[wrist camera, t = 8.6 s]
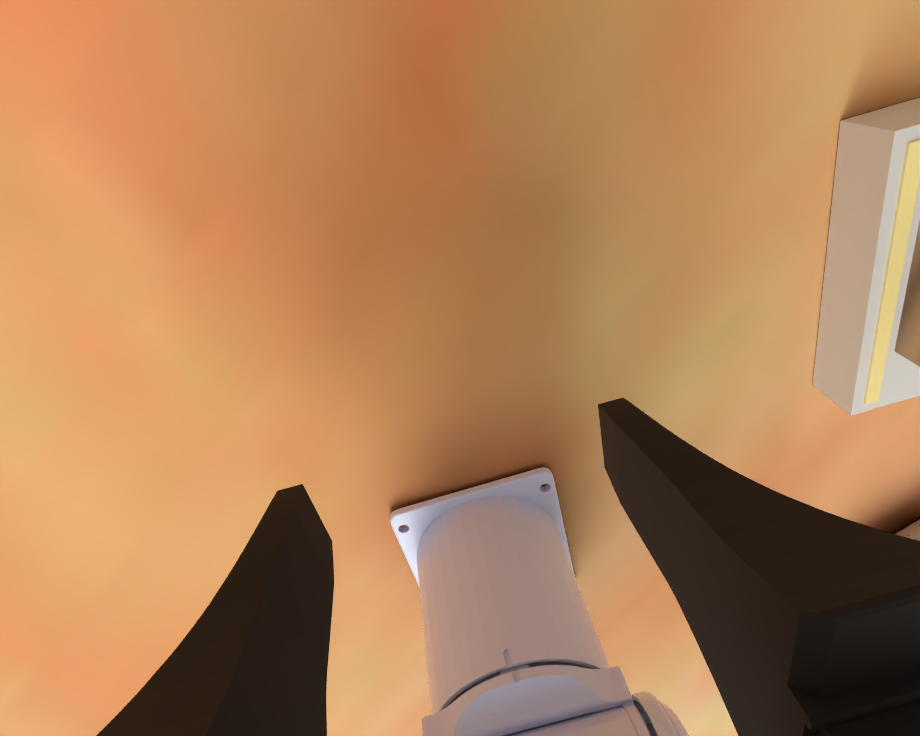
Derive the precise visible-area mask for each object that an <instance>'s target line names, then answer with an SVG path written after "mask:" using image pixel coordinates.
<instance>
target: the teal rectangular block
mask: <svg viewBox="0 0 920 736" xmlns="http://www.w3.org/2000/svg"><path fill="white" fill-rule="evenodd" d="M895 352H896V353H898V354H900V355H901V356H903V357H904V358H906V359H908V360H909V361H911V362H913V363H914V364H916V365H917V366H919V367H920V221H919V226H918V231H917V236H916V242H915V247H914V252H913V257H912V262H911V268H910V273H909V278H908V283H907V288H906V294H905V299H904V304H903V309H902V314H901V319H900V325H899V330H898V335H897V340H896V345H895Z"/></svg>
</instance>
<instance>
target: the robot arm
mask: <svg viewBox="0 0 920 736" xmlns="http://www.w3.org/2000/svg"><path fill="white" fill-rule="evenodd" d="M598 409H599V418H600V427H601V437H602V446H603V455H604V464H605V469H606V471H607V473H608V476H609V478H610V480H611V483H612V485H613V487H614V490H615V492H616V494H617V496H618V498H619V501H620V503H621V505H622V506H623V508H624V510H625V512H626V513H627V515H628V517H629V518H630V520H631V522H632V524H633V525H634V527H635V529H636V530H637V532H638V534H639V535H640V537H641V539H642V540H643V542H644V544H645V545H646V547H647V549H648V550H649V552H650V554H651V555H652V557H653V559H654V560H655V562H656V564H657V565H658V567H659V569H660V570H661V572H662V574H663V575H664V577H665V579H666V580H667V582H668V584H669V586H670V588H671V589H672V591H673V593H674V595H675V597H676V599H677V601H678V603H679V605H680V607H681V609H682V611H683V613H684V615H685V618H686V620H687V622H688V624H689V626H690V628H691V630H692V632H693V634H694V637H695V639H696V641H697V643H698V645H699V647H700V650H701V652H702V654H703V656H704V658H705V661H706V663H707V665H708V667H709V669H710V672H711V674H712V676H713V678H714V680H715V683H716V685H717V687H718V690H719V692H720V694H721V696H722V699H723V701H724V703H725V706H726V708H727V710H728V713H729V715H730V717H731V719H732V722H733V724H734V726H735V729H736V731H737V733H738V736H920V541H918V540H914V539H911V538H907V537H903V536H899V535H896V534H892V533H888V532H885V531H881V530H878V529H875V528H872V527H869V526H866V525H863V524H859V523H856V522H853V521H850V520H847V519H844V518H841V517H839V516H836V515H833V514H830V513H827V512H825V511H822V510H819V509H817V508H814V507H812V506H809V505H807V504H804V503H802V502H799V501H797V500H794V499H792V498H789V497H787V496H785V495H783V494H780V493H778V492H776V491H773V490H771V489H769V488H767V487H765V486H763V485H761V484H759V483H757V482H755V481H753V480H751V479H749V478H747V477H744V476H743V475H741V474H739V473H737V472H735V471H733V470H731V469H730V468H728V467H726V466H724V465H723V464H721V463H719V462H718V461H716V460H714V459H712V458H711V457H709V456H707V455H706V454H704V453H703V452H701V451H699V450H698V449H696V448H695V447H693V446H691V445H690V444H688V443H687V442H685V441H684V440H682V439H681V438H679V437H678V436H676V435H675V434H673V433H672V432H670V431H669V430H667V429H666V428H665V427H663V426H662V425H660V424H659V423H658V422H656V421H655V420H653V419H652V418H651V417H649V416H648V415H647V414H645V413H644V412H642V411H641V410H640V409H638V408H637V407H636V406H634V405H633V404H632V403H630V402H629V401H628V400H626V399H624V398H620V399H616V400H613V401H609V402H605V403H602V404H598ZM543 484H547V485H545V486H541V485H543ZM390 524H391V526H392V528H393V531H394V533H395V535H396V537H397V540H398V542H399V544H400V546H401V548H402V551H403V553H404V555H405V557H406V559H407V562H408V564H409V566H410V568H411V570H412V573H413V575H414V577H415V579H416V581H417V584H418V586H419V589H420V599H421V609H422V619H423V629H424V639H425V650H426V660H427V670H428V680H429V690H430V700H431V710H432V715H428V716H425V717H423V718H422V730H423V736H689V735H688V734H687V732H686V730H685V728H684V726H683V725H682V723H681V721H680V720H679V718H678V717H677V715H676V714H675V713H674V712H673V710H672V709H671V708H669V707H668V706H667V705H665V704H663V703H662V702H660V701H659V700H657V699H656V697H655V696H653V695H652V694H651V693H649V692H640V693H636V694H633V695H632V697H631V694H630V691H629V689H628V686H627V684H626V681H625V679H624V676H623V674H622V671H621V669H620V667H617V666H616V667H611V668H610V667H609V664H608V661H607V659H606V656H605V654H604V651H603V648H602V646H601V643H600V640H599V638H598V635H597V633H596V630H595V627H594V625H593V622H592V620H591V617H590V614H589V612H588V609H587V607H586V604H585V601H584V599H583V596H582V594H581V591H580V588H579V586H578V583H577V580H576V578H575V575H574V570H573V565H572V561H571V556H570V551H569V547H568V542H567V537H566V533H565V528H564V524H563V519H562V514H561V510H560V505H559V500H558V496H557V491H556V486H555V482H554V477H553V475H552V472H551V470H550V469H548V468H545V467H543V468H538V469H534V470H531V471H527V472H524V473H520V474H517V475H514V476H510V477H507V478H503V479H500V480H496V481H493V482H489V483H486V484H482V485H479V486H476V487H472V488H469V489H465V490H462V491H458V492H455V493H451V494H448V495H444V496H441V497H438V498H434V499H431V500H427V501H424V502H420V503H417V504H413V505H410V506H406V507H403V508H400V509H396V510H394V511H393V512H392V513H391V514H390ZM401 525H407V526H404V527H401ZM333 590H334V568H333V550H332V540H331V538H330V536H329V534H328V532H327V530H326V528H325V527H324V525H323V523H322V521H321V519H320V517H319V515H318V513H317V511H316V509H315V507H314V505H313V503H312V501H311V499H310V498H309V496H308V494H307V492H306V490H305V488H304V486H303V484H301V485H297V486H294V487H290V488H286V489H282V490H279V491H277V493H276V494H275V496H274V498H273V499H272V501H271V503H270V505H269V506H268V508H267V510H266V512H265V513H264V515H263V517H262V519H261V521H260V522H259V524H258V526H257V528H256V529H255V531H254V533H253V535H252V536H251V538H250V540H249V542H248V543H247V545H246V547H245V548H244V550H243V552H242V554H241V555H240V557H239V559H238V560H237V562H236V564H235V565H234V567H233V569H232V570H231V572H230V573H229V575H228V577H227V578H226V580H225V581H224V583H223V584H222V586H221V587H220V589H219V590H218V592H217V593H216V595H215V597H214V598H213V600H212V601H211V603H210V604H209V606H208V607H207V608H206V610H205V611H204V613H203V614H202V615H201V617H200V618H199V620H198V621H197V622H196V624H195V625H194V626H193V628H192V629H191V630H190V631H189V633H188V634H187V635H186V637H185V638H184V639H183V641H182V642H181V643H180V644H179V646H178V647H177V648H176V649H175V651H174V652H173V653H172V654H171V655H170V657H169V658H168V659H167V660H166V661H165V662H164V664H163V665H162V666H161V667H160V668H159V669H158V670H157V672H156V673H155V674H154V675H153V676H152V677H151V679H150V680H149V681H148V682H147V683H146V684H145V685H144V687H143V688H142V689H141V690H140V691H139V692H138V693H137V694H136V696H135V697H134V698H133V699H132V700H131V701H130V702H129V703H128V704H127V705H126V706H125V707H124V708H123V709H122V710H121V711H120V712H119V714H118V715H117V716H116V717H115V718H114V719H113V720H112V721H111V722H110V723H109V724H108V725H107V726H106V727H105V728H104V729H103V730H102V731H101V732H100V733H99V734H98V735H97V736H327V722H326V682H327V666H328V653H329V641H330V629H331V617H332V603H333Z"/></svg>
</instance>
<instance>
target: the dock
mask: <svg viewBox="0 0 920 736" xmlns="http://www.w3.org/2000/svg"><path fill="white" fill-rule="evenodd" d="M919 221H920V98H916V99H913V100H909V101H906V102H903V103H899V104H896V105H892V106H889V107H885V108H882V109H879V110H875V111H872V112H868V113H865V114H861V115H858V116H855V117H851V118H848V119H844V120H841V121H840V130H839V140H838V149H837V159H836V168H835V178H834V187H833V196H832V206H831V215H830V225H829V234H828V244H827V253H826V263H825V272H824V281H823V291H822V300H821V310H820V319H819V329H818V338H817V348H816V357H815V367H814V376H813V386H814V387H816V388H817V389H818V390H819V391H821V392H822V393H823V394H824V395H826V396H827V397H828V398H829V399H831V400H832V401H833V402H834V403H836V404H837V405H838V406H839V407H841V408H842V409H843V410H844V411H846V412H847V413H848V414H849V415H855V414H858V413H862V412H865V411H868V410H872V409H875V408H879V407H882V406H886V405H889V404H893V403H896V402H900V401H903V400H907V399H910V398H913V397H917V396H920V367H919V366H917V365H916V364H914V363H913V362H911V361H909V360H908V359H906V358H904V357H903V356H901V355H900V354H898V353H896V352H895V345H896V340H897V335H898V330H899V325H900V319H901V314H902V309H903V304H904V299H905V294H906V288H907V283H908V278H909V273H910V268H911V262H912V257H913V252H914V247H915V242H916V236H917V231H918V226H919Z"/></svg>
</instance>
